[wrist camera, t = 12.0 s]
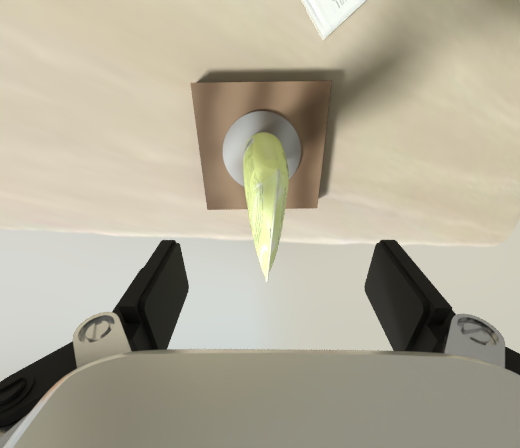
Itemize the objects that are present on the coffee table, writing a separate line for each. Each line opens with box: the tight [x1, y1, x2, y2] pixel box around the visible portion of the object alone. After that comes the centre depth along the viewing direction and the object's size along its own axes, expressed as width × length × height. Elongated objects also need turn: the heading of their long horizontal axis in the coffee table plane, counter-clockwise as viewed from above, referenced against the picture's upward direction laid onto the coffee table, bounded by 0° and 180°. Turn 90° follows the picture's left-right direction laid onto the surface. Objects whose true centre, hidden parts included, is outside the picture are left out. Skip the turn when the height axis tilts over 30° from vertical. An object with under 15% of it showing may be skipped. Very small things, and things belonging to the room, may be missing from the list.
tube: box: [243, 132, 289, 283], centre depth 22 cm, size 6×5×20 cm
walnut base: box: [191, 81, 332, 210], centre depth 32 cm, size 16×16×3 cm
